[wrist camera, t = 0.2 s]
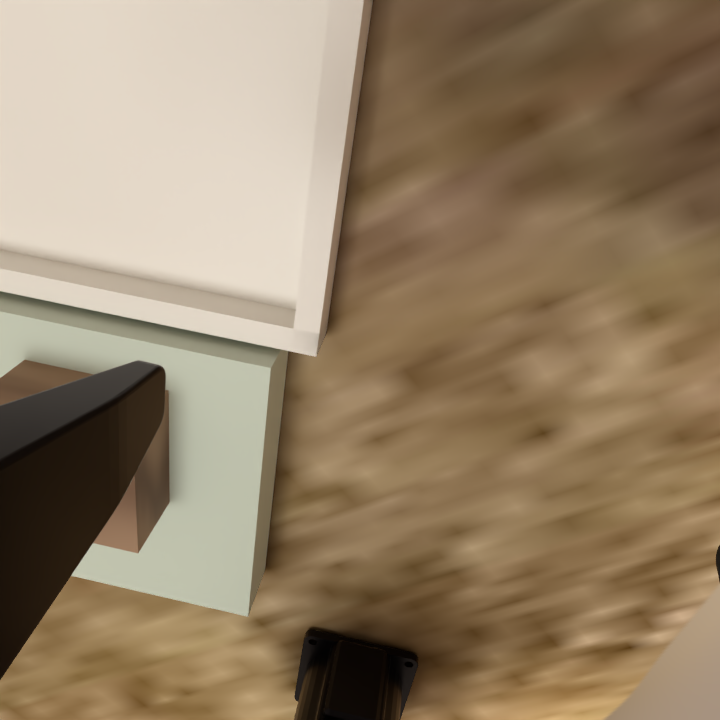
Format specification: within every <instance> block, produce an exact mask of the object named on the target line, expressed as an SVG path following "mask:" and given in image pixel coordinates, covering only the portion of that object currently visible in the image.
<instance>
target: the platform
mask: <svg viewBox="0 0 720 720" xmlns="http://www.w3.org/2000/svg"><path fill="white" fill-rule="evenodd" d="M23 360H28V361H33V362H38V363H42V364H47V365H52V366H56V367H61V368H66V369H71V370H75V371H80V372H85V373H89V374H97V373H100V372H103V371H106V370H109V369H112V368H115V367H118V366H121V365H124V364H127V363H130V362H133V361H137V360H141V361H145V362H149V363H153V364H157V365H161V366H162V367H163V368H164V369H165V373H166V386H165V390H169V493H170V503H169V504H168V506H167V507H166V509H165V511H164V512H163V514H162V516H161V517H160V519H159V520H158V522H157V524H156V525H155V527H154V529H153V530H152V532H151V533H150V535H149V537H148V538H147V540H146V542H145V543H144V545H143V547H142V548H141V550H140V551H139V553H134V552H130V551H125V550H121V549H116V548H112V547H108V546H103V545H99V544H95V543H93V544H92V545H91V547H90V548H89V550H88V551H87V553H86V554H85V556H84V557H83V559H82V560H81V562H80V563H79V565H78V566H77V568H76V569H75V570H74V572H73V573H72V575H71V576H75V577H79V578H84V579H88V580H92V581H97V582H101V583H105V584H110V585H114V586H118V587H122V588H127V589H131V590H135V591H140V592H144V593H148V594H153V595H157V596H161V597H166V598H170V599H174V600H178V601H183V602H187V603H191V604H196V605H200V606H204V607H209V608H213V609H217V610H222V611H226V612H230V613H234V614H239V615H243V616H247V617H248V616H249V613H250V610H251V607H252V604H253V602H254V599H255V596H256V593H257V591H258V588H259V585H260V582H261V580H262V577H263V574H264V571H265V566H266V557H267V548H268V538H269V529H270V519H271V510H272V501H273V491H274V482H275V473H276V463H277V454H278V445H279V435H280V426H281V416H282V407H283V398H284V388H285V379H286V370H287V360H288V351H286V350H281V349H276V348H272V347H267V346H262V345H257V344H252V343H248V342H243V341H238V340H233V339H228V338H224V337H219V336H214V335H209V334H204V333H200V332H195V331H190V330H185V329H180V328H175V327H171V326H166V325H161V324H156V323H151V322H147V321H142V320H137V319H132V318H127V317H123V316H118V315H113V314H108V313H103V312H98V311H94V310H89V309H84V308H79V307H74V306H70V305H65V304H60V303H55V302H50V301H46V300H41V299H36V298H31V297H26V296H22V295H17V294H12V293H7V292H2V291H0V378H1V377H2V376H4V375H5V374H6V373H8V372H9V371H10V370H12V369H13V368H14V367H16V366H17V365H18V364H19V363H21V362H22V361H23Z"/></svg>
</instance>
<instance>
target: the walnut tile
mask: <svg viewBox="0 0 720 720" xmlns="http://www.w3.org/2000/svg"><path fill="white" fill-rule="evenodd" d="M91 375H94V374H89V373H85V372H80V371H75V370H71V369H66V368H61V367H56V366H52V365H47V364H42V363H38V362H33V361H28V360H23V361H22V362H21V363H19V364H18V365H17V366H16V367H14V368H13V369H12V370H10V371H9V372H8V373H6V374H5V375H4V376H2V377H1V378H0V405H2V404H5V403H9V402H12V401H15V400H18V399H21V398H24V397H27V396H30V395H33V394H36V393H39V392H42V391H45V390H48V389H51V388H54V387H57V386H60V385H63V384H66V383H69V382H73V381H76V380H79V379H82V378H85V377H88V376H91ZM169 503H170V493H169V390H165V411H164V416H163V420H162V423H161V425H160V427H159V429H158V431H157V433H156V435H155V437H154V439H153V440H152V442H151V444H150V446H149V448H148V450H147V452H146V454H145V456H144V458H143V460H142V462H141V464H140V466H139V468H138V469H137V471H136V473H135V475H134V477H133V479H132V481H131V483H130V485H129V487H128V489H127V491H126V493H125V494H124V496H123V498H122V500H121V502H120V503H119V505H118V506H117V508H116V510H115V511H114V513H113V514H112V516H111V517H110V519H109V520H108V522H107V523H106V525H105V526H104V528H103V529H102V531H101V532H100V534H99V535H98V537H97V538H96V539H95V541H94V542H93V543H95V544H99V545H103V546H108V547H112V548H116V549H121V550H125V551H130V552H134V553H139V551H140V550H141V548H142V547H143V545H144V543H145V542H146V540H147V538H148V537H149V535H150V533H151V532H152V530H153V529H154V527H155V525H156V524H157V522H158V520H159V519H160V517H161V516H162V514H163V512H164V511H165V509H166V507H167V506H168V504H169Z"/></svg>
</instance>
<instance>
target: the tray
mask: <svg viewBox="0 0 720 720" xmlns="http://www.w3.org/2000/svg"><path fill="white" fill-rule="evenodd" d="M372 5H373V0H0V291H2V292H7V293H12V294H17V295H22V296H26V297H31V298H36V299H41V300H46V301H50V302H55V303H60V304H65V305H70V306H74V307H79V308H84V309H89V310H94V311H98V312H103V313H108V314H113V315H118V316H123V317H127V318H132V319H137V320H142V321H147V322H151V323H156V324H161V325H166V326H171V327H175V328H180V329H185V330H190V331H195V332H200V333H204V334H209V335H214V336H219V337H224V338H228V339H233V340H238V341H243V342H248V343H252V344H257V345H262V346H267V347H272V348H276V349H281V350H286V351H291V352H296V353H301V354H305V355H310V356H315V357H316V356H317V354H318V352H319V349H320V347H321V345H322V342H323V340H324V338H325V336H326V332H327V325H328V318H329V311H330V304H331V297H332V289H333V282H334V275H335V268H336V261H337V254H338V247H339V240H340V233H341V225H342V218H343V211H344V204H345V197H346V190H347V183H348V176H349V169H350V161H351V154H352V147H353V140H354V133H355V126H356V119H357V112H358V105H359V97H360V90H361V83H362V76H363V69H364V62H365V55H366V48H367V41H368V33H369V26H370V19H371V12H372Z"/></svg>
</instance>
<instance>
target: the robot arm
mask: <svg viewBox="0 0 720 720" xmlns="http://www.w3.org/2000/svg"><path fill="white" fill-rule="evenodd" d="M165 386H166V373H165V369H164V368H163V367H162V366H161V365H157V364H153V363H149V362H145V361H141V360H137V361H133V362H130V363H127V364H124V365H121V366H118V367H115V368H112V369H109V370H106V371H103V372H100V373H97V374H94V375H91V376H88V377H85V378H82V379H79V380H76V381H73V382H69V383H66V384H63V385H60V386H57V387H54V388H51V389H48V390H45V391H42V392H39V393H36V394H33V395H30V396H27V397H24V398H21V399H18V400H15V401H12V402H9V403H5V404H2V405H0V680H1V678H2V677H3V675H4V674H5V672H6V671H7V669H8V668H9V666H10V665H11V663H12V662H13V660H14V659H15V657H16V656H17V654H18V653H19V652H20V650H21V649H22V647H23V646H24V644H25V643H26V641H27V640H28V638H29V637H30V635H31V634H32V632H33V631H34V629H35V628H36V626H37V625H38V624H39V622H40V621H41V619H42V618H43V616H44V615H45V613H46V612H47V610H48V609H49V607H50V606H51V604H52V603H53V601H54V600H55V598H56V597H57V596H58V594H59V593H60V591H61V590H62V588H63V587H64V585H65V584H66V582H67V581H68V579H69V578H70V576H71V575H72V573H73V572H74V570H75V569H76V568H77V566H78V565H79V563H80V562H81V560H82V559H83V557H84V556H85V554H86V553H87V551H88V550H89V548H90V547H91V545H92V544H93V542H94V541H95V539H96V538H97V537H98V535H99V534H100V532H101V531H102V529H103V528H104V526H105V525H106V523H107V522H108V520H109V519H110V517H111V516H112V514H113V513H114V511H115V510H116V508H117V506H118V505H119V503H120V502H121V500H122V498H123V496H124V494H125V493H126V491H127V489H128V487H129V485H130V483H131V481H132V479H133V477H134V475H135V473H136V471H137V469H138V468H139V466H140V464H141V462H142V460H143V458H144V456H145V454H146V452H147V450H148V448H149V446H150V444H151V442H152V440H153V439H154V437H155V435H156V433H157V431H158V429H159V427H160V425H161V423H162V420H163V416H164V411H165ZM716 566H717V571H718V576H719V581H720V545H719V547H718V550H717V554H716ZM417 667H418V657H417V655H415V654H414V653H411V652H407V651H402V650H398V649H394V648H389V647H385V646H381V645H376V644H372V643H368V642H363V641H359V640H355V639H351V638H346V637H342V636H338V635H333V634H329V633H325V632H320V631H316V630H309V631H307V632H306V635H305V638H304V644H303V649H302V655H301V661H300V667H299V673H298V679H297V685H296V691H295V699H296V701H298V705H297V710H296V714H295V718H294V720H400V719H401V716H402V713H403V710H404V707H405V703H406V700H407V697H408V694H409V691H410V688H411V685H412V682H413V679H414V676H415V673H416V670H417Z"/></svg>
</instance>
